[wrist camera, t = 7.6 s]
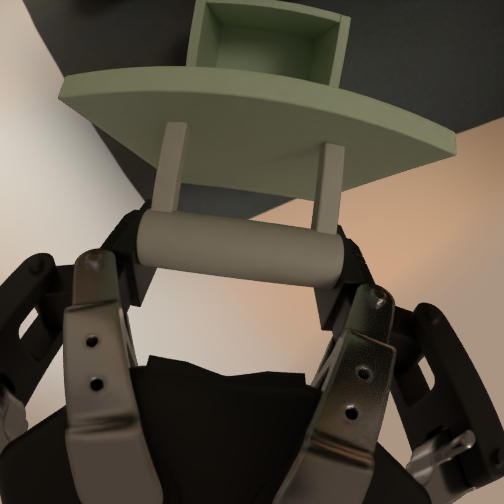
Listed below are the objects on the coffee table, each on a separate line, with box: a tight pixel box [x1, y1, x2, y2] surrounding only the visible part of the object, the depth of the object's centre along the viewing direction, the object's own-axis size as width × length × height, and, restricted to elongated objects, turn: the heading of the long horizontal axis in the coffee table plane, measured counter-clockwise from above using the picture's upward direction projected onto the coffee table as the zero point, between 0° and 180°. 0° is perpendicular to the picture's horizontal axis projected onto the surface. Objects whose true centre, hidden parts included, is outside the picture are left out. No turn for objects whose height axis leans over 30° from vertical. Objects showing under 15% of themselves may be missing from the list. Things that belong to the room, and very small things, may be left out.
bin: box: [186, 0, 351, 88], centre depth 23 cm, size 16×12×11 cm
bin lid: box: [58, 66, 456, 289], centre depth 14 cm, size 17×12×5 cm
